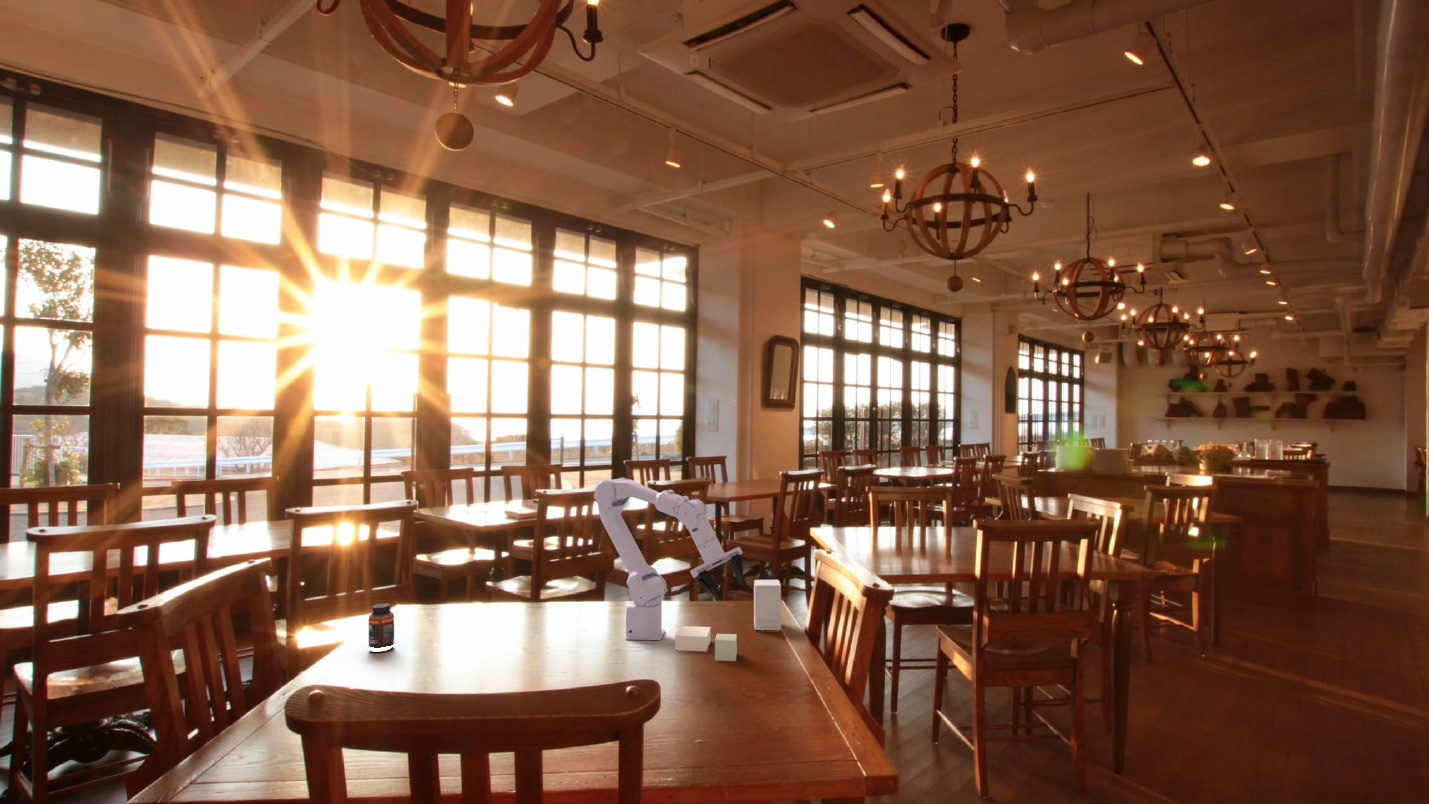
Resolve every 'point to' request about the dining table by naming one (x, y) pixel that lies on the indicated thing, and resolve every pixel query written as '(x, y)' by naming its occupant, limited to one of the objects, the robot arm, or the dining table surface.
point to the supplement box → (767, 605)
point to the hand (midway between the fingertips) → (731, 591)
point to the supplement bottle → (381, 626)
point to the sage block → (725, 647)
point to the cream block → (692, 638)
